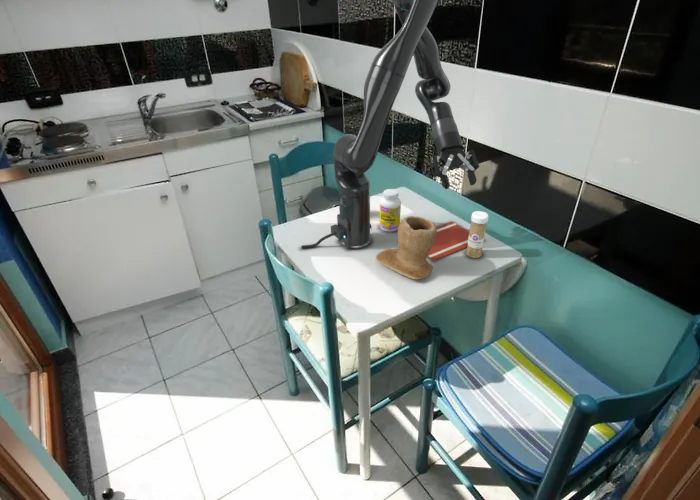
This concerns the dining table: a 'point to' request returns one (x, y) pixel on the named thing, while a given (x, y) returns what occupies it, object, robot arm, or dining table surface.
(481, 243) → the sprinkles bottle
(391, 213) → the supplement bottle
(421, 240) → the stone cup
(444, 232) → the dish cloth
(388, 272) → the dining table surface
